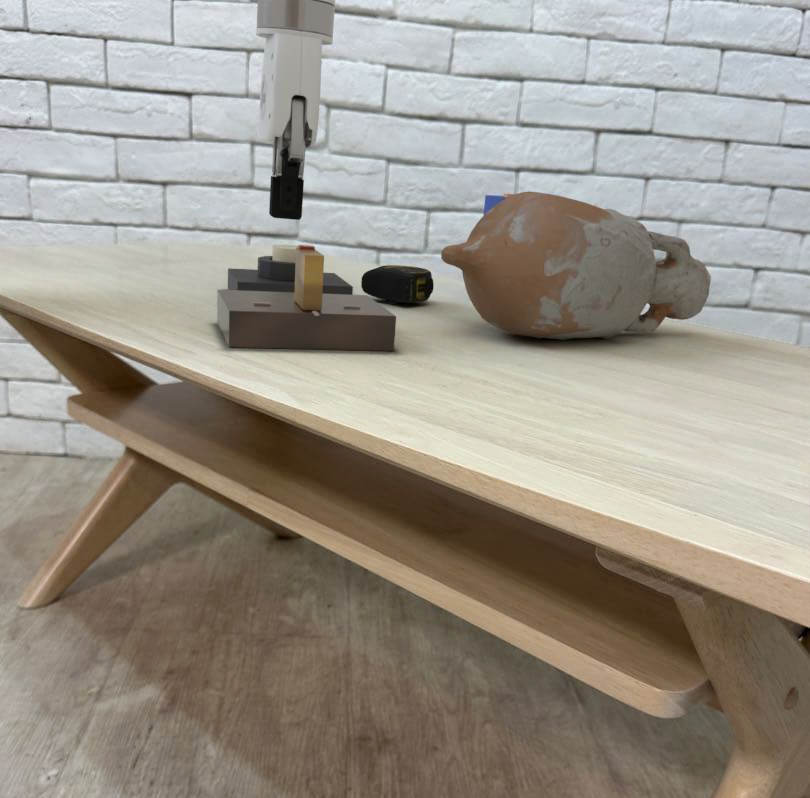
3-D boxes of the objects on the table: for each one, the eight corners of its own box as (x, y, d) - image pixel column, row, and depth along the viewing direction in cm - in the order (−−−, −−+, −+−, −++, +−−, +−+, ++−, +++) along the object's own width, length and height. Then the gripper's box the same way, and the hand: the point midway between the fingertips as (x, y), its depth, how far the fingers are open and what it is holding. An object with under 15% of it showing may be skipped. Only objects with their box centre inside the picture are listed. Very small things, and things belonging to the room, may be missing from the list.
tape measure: (356, 300, 110) (358, 265, 108) (397, 296, 115) (399, 263, 113) (404, 310, 106) (406, 274, 105) (443, 305, 111) (446, 271, 110)
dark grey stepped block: (237, 303, 102) (237, 263, 100) (227, 288, 111) (228, 251, 109) (351, 307, 105) (354, 268, 104) (333, 292, 114) (335, 256, 112)
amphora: (405, 188, 91) (668, 146, 101) (407, 350, 100) (647, 295, 111) (481, 235, 81) (764, 182, 91) (475, 409, 90) (732, 343, 101)
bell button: (274, 265, 104) (275, 247, 104) (270, 260, 108) (270, 243, 107) (308, 266, 105) (309, 249, 105) (303, 262, 109) (303, 245, 108)
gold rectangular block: (321, 311, 83) (324, 252, 82) (302, 310, 83) (305, 251, 81) (312, 301, 88) (314, 245, 86) (294, 300, 87) (295, 244, 86)
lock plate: (230, 350, 81) (230, 311, 79) (217, 322, 91) (217, 287, 90) (397, 354, 84) (399, 316, 83) (365, 327, 95) (367, 293, 94)
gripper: (248, 24, 104) (241, 209, 110) (267, 11, 90) (258, 221, 97) (319, 34, 106) (308, 215, 112) (348, 22, 92) (333, 228, 99)
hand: (285, 217), depth 105 cm, fingers closed
